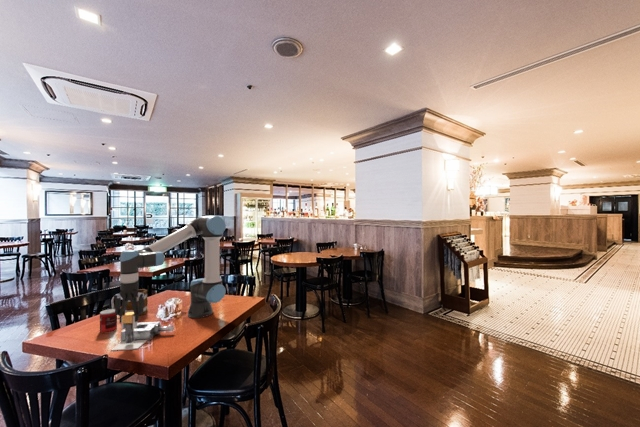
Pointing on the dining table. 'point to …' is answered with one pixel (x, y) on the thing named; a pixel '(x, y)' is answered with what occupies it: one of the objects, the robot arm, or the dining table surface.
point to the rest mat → (129, 345)
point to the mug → (129, 304)
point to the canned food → (108, 321)
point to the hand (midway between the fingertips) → (129, 328)
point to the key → (128, 326)
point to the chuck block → (146, 330)
